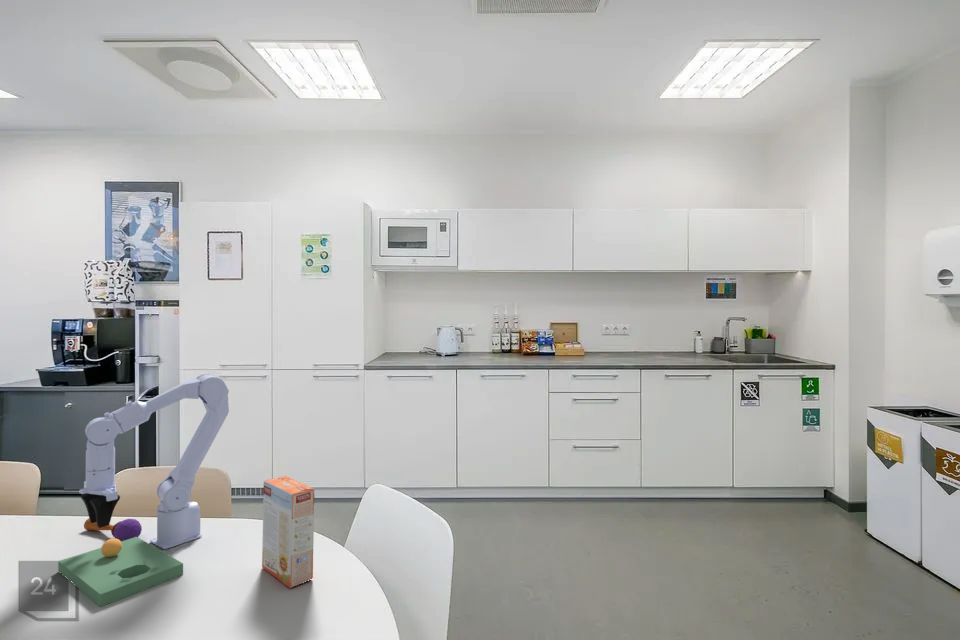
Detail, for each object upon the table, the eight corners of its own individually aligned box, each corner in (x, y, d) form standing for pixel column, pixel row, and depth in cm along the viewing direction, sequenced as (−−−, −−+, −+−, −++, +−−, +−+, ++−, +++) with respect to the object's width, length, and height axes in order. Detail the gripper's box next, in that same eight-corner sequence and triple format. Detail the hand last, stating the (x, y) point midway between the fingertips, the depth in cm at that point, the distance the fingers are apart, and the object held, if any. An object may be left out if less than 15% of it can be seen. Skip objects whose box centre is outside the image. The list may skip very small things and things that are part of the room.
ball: (117, 550, 121) (118, 534, 121) (125, 555, 119) (125, 538, 119) (98, 557, 118) (98, 540, 118) (105, 561, 116) (105, 544, 116)
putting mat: (136, 546, 129) (136, 536, 129) (183, 574, 116) (183, 563, 116) (58, 571, 116) (58, 561, 116) (100, 606, 102) (100, 594, 102)
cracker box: (314, 580, 114) (316, 487, 114) (289, 590, 110) (290, 494, 110) (285, 559, 124) (286, 474, 123) (261, 568, 119) (262, 479, 119)
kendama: (104, 510, 142) (148, 518, 134) (100, 533, 141) (144, 542, 133) (80, 514, 137) (124, 521, 129) (76, 537, 136) (120, 546, 127)
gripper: (69, 466, 123) (68, 522, 123) (92, 477, 115) (91, 537, 115) (103, 460, 129) (102, 513, 129) (127, 470, 121) (127, 527, 121)
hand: (99, 523), depth 123 cm, fingers open, 4 cm apart
